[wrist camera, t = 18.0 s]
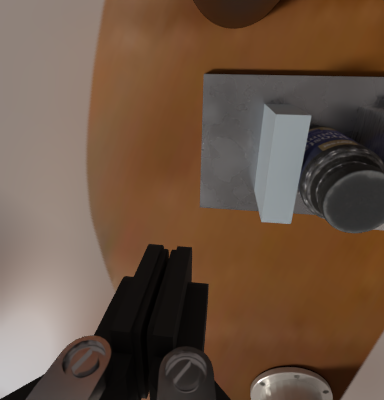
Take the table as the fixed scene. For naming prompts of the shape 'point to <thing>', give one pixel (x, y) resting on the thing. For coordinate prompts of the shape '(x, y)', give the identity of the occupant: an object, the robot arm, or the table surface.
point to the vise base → (252, 125)
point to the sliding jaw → (280, 161)
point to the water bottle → (235, 11)
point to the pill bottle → (342, 181)
